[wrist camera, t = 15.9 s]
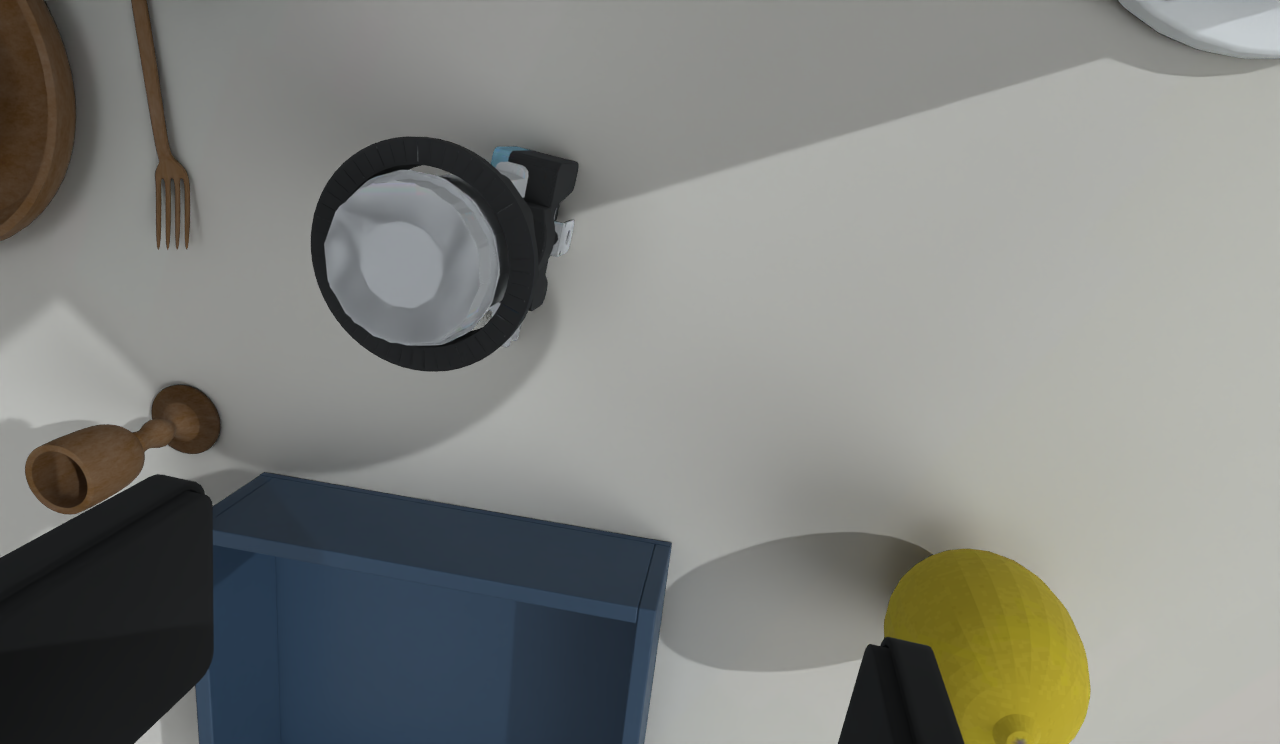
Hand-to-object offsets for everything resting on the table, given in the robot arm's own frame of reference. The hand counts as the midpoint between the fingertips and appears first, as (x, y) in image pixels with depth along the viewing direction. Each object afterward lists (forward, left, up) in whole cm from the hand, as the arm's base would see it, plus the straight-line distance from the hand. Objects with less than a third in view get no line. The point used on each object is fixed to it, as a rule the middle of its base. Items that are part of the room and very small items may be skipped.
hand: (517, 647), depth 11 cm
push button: (+5, -3, -17) cm, 18 cm away
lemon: (-11, +7, -17) cm, 22 cm away
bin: (+7, +15, -17) cm, 24 cm away
